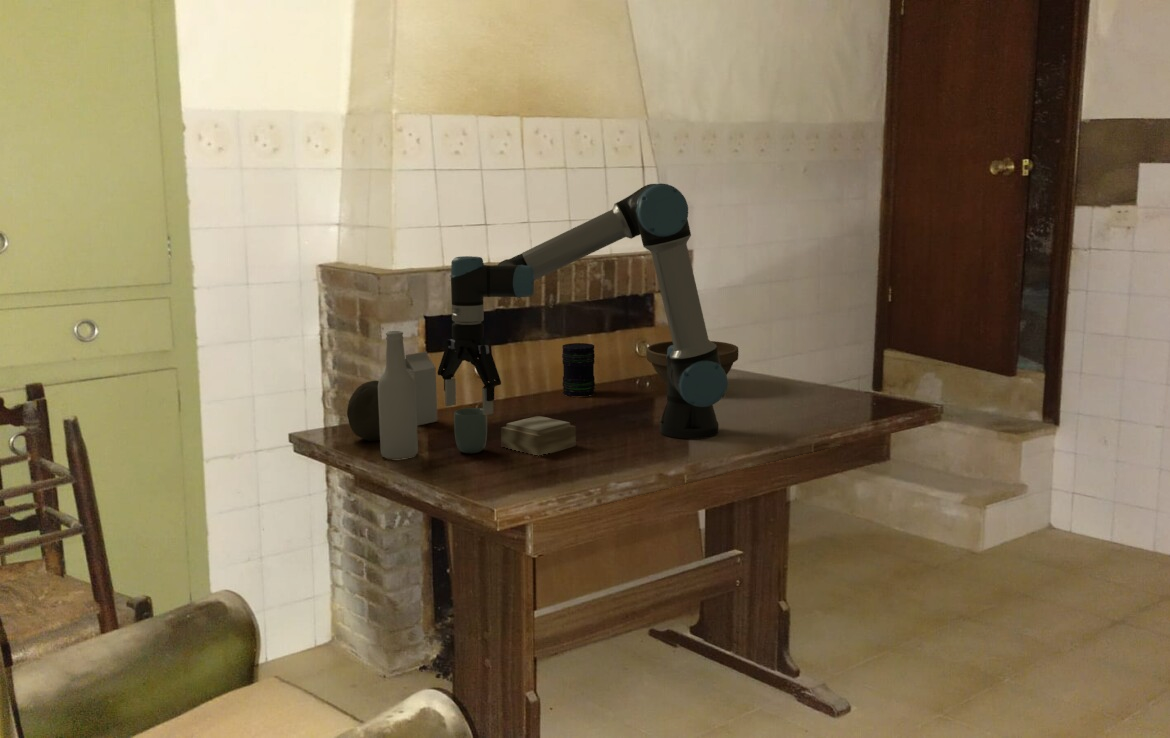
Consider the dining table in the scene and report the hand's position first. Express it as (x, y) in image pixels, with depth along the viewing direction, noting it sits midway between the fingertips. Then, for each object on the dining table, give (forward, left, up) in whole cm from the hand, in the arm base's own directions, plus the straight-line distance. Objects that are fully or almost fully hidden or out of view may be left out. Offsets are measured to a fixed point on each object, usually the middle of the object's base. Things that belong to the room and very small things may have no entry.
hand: (468, 409), depth 253 cm
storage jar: (+26, -66, -11) cm, 72 cm away
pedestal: (-9, -14, -10) cm, 20 cm away
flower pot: (+5, -95, -11) cm, 96 cm away
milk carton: (+34, -11, -11) cm, 37 cm away
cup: (0, 0, -11) cm, 11 cm away
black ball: (+27, +8, -11) cm, 30 cm away
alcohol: (+10, +14, -11) cm, 20 cm away
